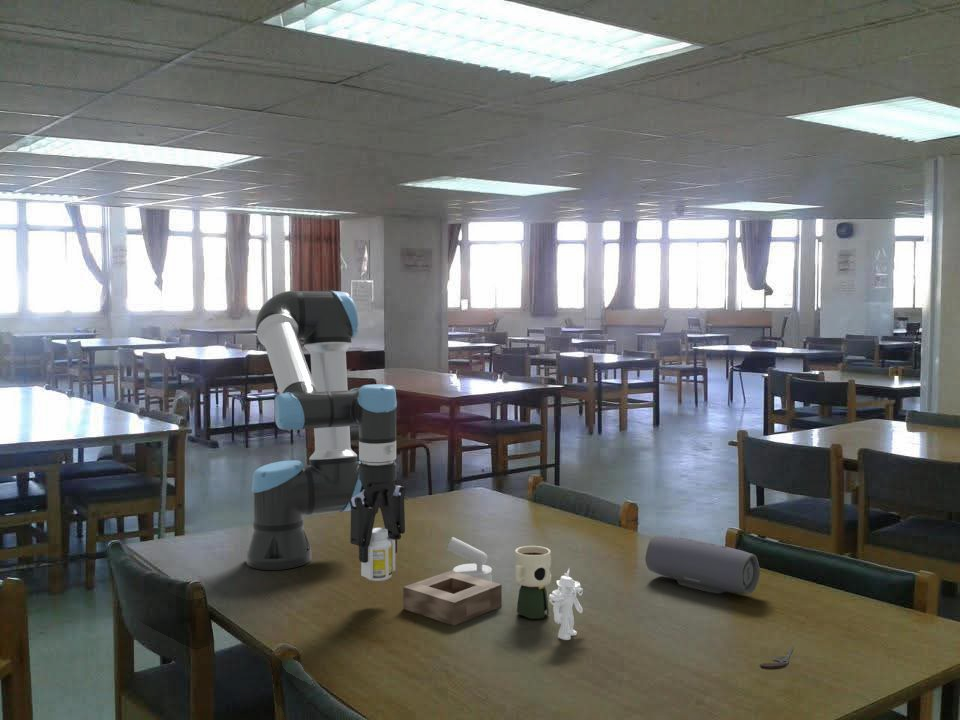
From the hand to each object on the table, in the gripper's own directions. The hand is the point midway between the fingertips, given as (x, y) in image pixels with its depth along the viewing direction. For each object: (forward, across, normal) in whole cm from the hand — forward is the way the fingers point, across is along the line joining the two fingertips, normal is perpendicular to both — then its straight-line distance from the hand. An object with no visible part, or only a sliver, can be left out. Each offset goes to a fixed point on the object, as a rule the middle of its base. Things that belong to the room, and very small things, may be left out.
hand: (378, 573), depth 177 cm
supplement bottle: (+1, 0, 0) cm, 1 cm away
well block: (+6, +8, -14) cm, 17 cm away
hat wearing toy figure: (+6, +11, -40) cm, 41 cm away
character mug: (+6, +15, -29) cm, 33 cm away
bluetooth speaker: (+6, +52, -46) cm, 69 cm away
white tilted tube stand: (+7, +23, -5) cm, 24 cm away
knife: (+6, +28, -73) cm, 78 cm away
